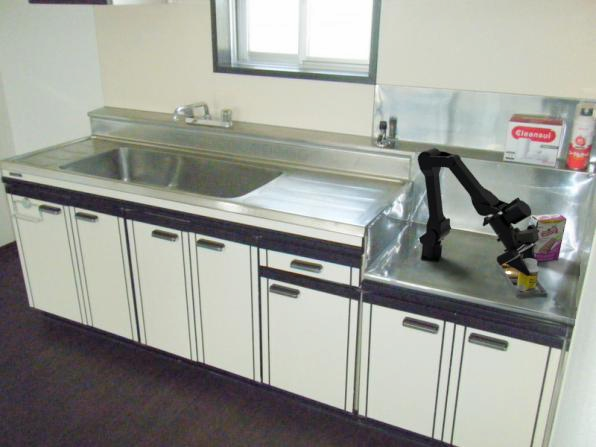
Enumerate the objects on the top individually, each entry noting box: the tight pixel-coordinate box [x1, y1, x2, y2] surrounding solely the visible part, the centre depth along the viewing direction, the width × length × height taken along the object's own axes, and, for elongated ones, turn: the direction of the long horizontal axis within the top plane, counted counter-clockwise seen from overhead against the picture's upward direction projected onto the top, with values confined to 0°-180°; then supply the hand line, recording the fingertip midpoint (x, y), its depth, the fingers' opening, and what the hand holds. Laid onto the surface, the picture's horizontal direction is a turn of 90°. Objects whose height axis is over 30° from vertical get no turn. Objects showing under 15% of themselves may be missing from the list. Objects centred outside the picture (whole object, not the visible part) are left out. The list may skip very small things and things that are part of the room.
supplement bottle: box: [516, 258, 540, 292], centre depth 184 cm, size 6×6×10 cm
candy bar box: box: [528, 213, 567, 263], centre depth 203 cm, size 11×5×16 cm, turn 100°
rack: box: [495, 261, 548, 298], centre depth 191 cm, size 22×10×1 cm, turn 178°
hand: (533, 272), depth 183 cm, fingers closed on supplement bottle, 5 cm apart
